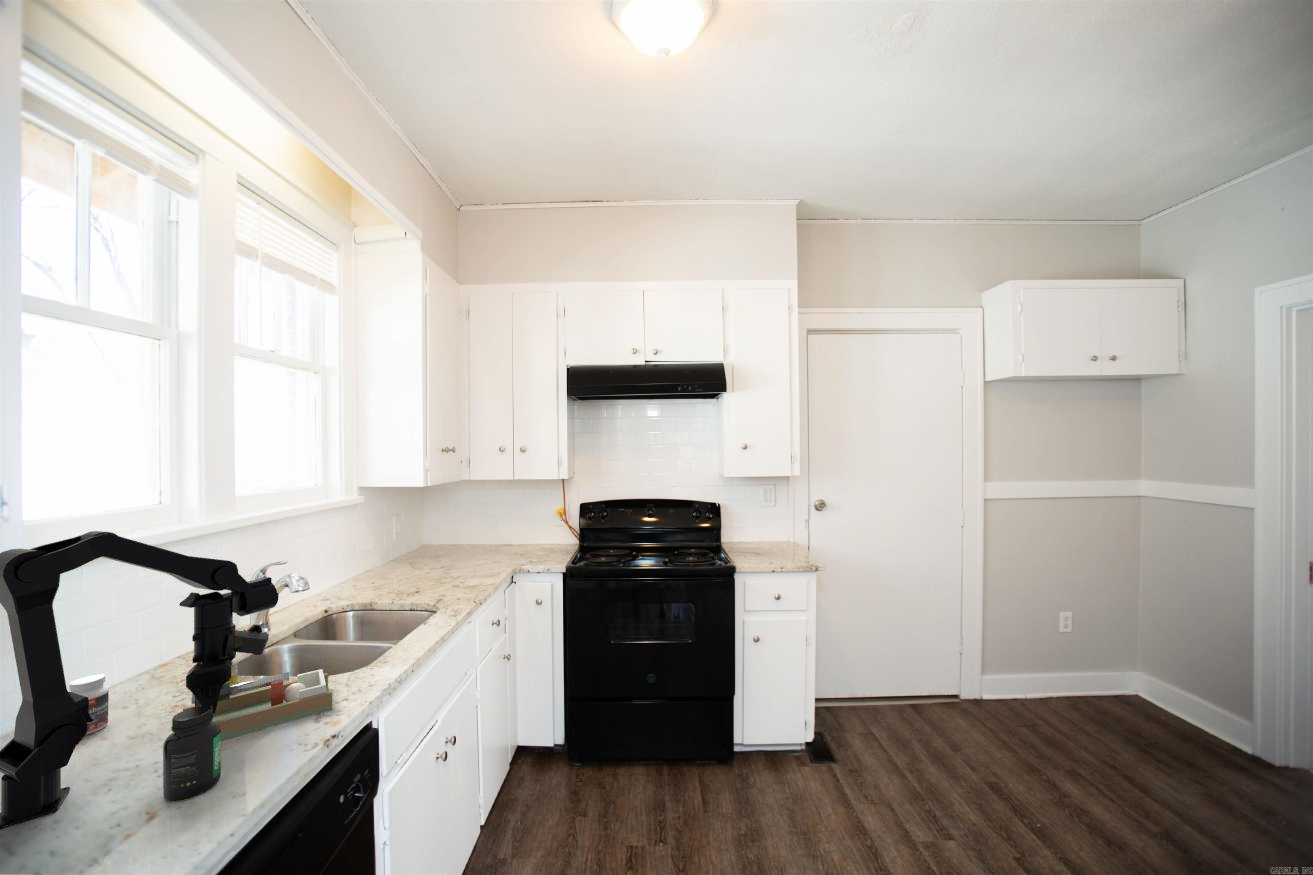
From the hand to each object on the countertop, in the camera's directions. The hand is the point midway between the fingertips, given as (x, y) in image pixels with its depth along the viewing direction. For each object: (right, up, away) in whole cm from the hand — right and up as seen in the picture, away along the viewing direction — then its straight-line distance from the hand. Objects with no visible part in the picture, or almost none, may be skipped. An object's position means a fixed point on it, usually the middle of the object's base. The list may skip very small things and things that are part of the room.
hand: (213, 704), depth 98 cm
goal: (+13, -4, +9) cm, 16 cm away
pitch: (+6, -5, +4) cm, 8 cm away
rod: (+4, -3, +3) cm, 5 cm away
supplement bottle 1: (+12, -4, -17) cm, 22 cm away
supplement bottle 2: (-11, -6, +14) cm, 19 cm away
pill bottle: (-25, -6, +1) cm, 26 cm away
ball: (+10, -2, +8) cm, 13 cm away
